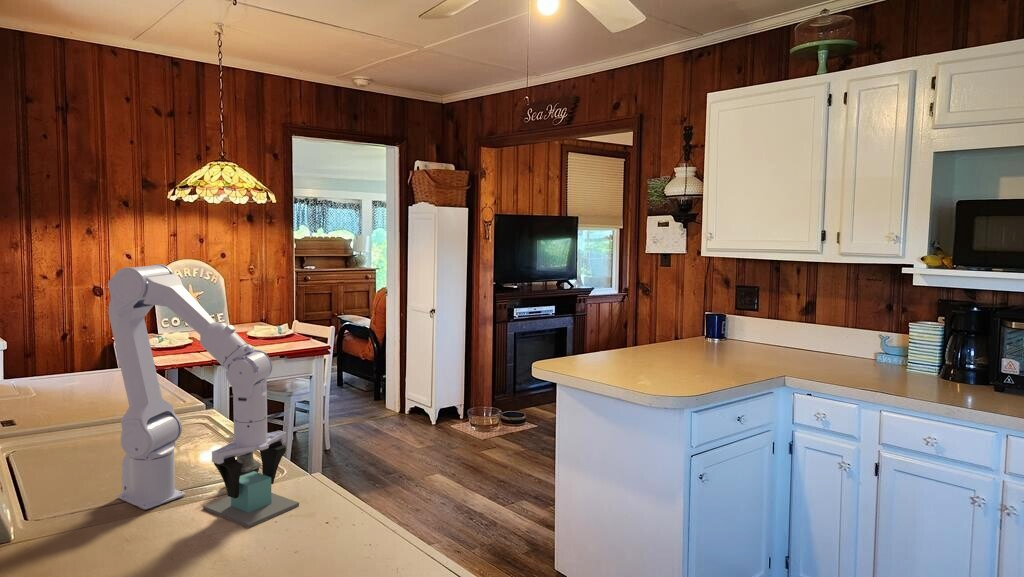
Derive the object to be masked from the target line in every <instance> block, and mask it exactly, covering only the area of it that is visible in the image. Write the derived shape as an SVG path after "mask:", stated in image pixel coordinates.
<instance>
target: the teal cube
mask: <svg viewBox="0 0 1024 577" xmlns="http://www.w3.org/2000/svg"><path fill="white" fill-rule="evenodd" d="M271 493H272V484H271V477H269V476H266V475H263V473H260V472H259V471H258V472H255V471H253V472H251V473H248V474H245V475H242V476H240V479H239V496H238V498H232V497H231V506H233V507H235V508H238V509H240V510H243V511H245V512H248V513H249V512H251V511H254V510H256V509H259V508H261V507H264V506H266V505H268V504H271V503H272V499H271Z"/></svg>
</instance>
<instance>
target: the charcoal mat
mask: <svg viewBox="0 0 1024 577" xmlns="http://www.w3.org/2000/svg"><path fill="white" fill-rule="evenodd" d="M271 499H272V503H271V504H268V505H266V506H264V507H261V508H259V509H256V510H254V511H251V512H249V513H248V512H245V511H243V510H240V509H238V508H235V507H233V506H231V497H229V496H228V495H227V496H225V497H222V498H220V499H217V500H215V501H212V502H210V503H207V504H204V505H203V506H202V509H203V510H204V511H207V512H209V513H212V514H214V515H216V516H219V517H222V518H224V519H227V520H229V521H231V522H233V523H236V524H238V525H241V526H244V527H245V528H248V529H249V528H252V527H254V526H256V525H258V524H261V523H263V522H265V521H267V520H268V521H269V520H270V519H272V518H274V517H276V516H279V515H282V514H284V513H286V512H288V511H291V510H293V509H295V508H297V507H300V502H298V501H296V500H293V499H290V498H287V497H284V496H281V495H280V494H276V493H274V492H271Z"/></svg>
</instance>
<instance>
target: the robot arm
mask: <svg viewBox="0 0 1024 577" xmlns="http://www.w3.org/2000/svg"><path fill="white" fill-rule="evenodd" d="M107 286H108V290H109V296H110V299H109V306H108V311H107V312H108V319H109V322H110V327H111V332H112V335H113V336H112V337H113V341H114V344H115V350H116V353H117V358H118V362H119V367H120V371H121V374H122V380H123V384H124V388H125V394H126V397H127V401H128V408H127V410H126V411H125V413H124V415H123V416H122V418H121V419H120V424H121V434H120V446H121V448H122V450H123V451H124V452H125V456H124V457H123V459H122V462H121V486H122V487H121V488H122V489H121V490H122V491H121V492H122V493H120V494H118V495H117V499H120V500H122V501H124V502H126V503H129V504H130V505H133V506H136V507H138V508H140V509H142V510H149V509H152V508H155V507H157V506H160V505H163V504H165V503H168V502H171V501H174V500H177V499H180V498H183V497H185V496H186V493H185V492H184V491H181V490H178V489H176V475H175V474H176V472H175V469H176V468H175V448H176V445H177V444H176V442H177V441H178V440H179V439H180V437H181V435H182V432H183V426H182V422H181V419H180V418H179V417H178V415H177V414H176V413H175V410H174V406H173V405H174V404H172V403H170V402H169V401H167V400H166V399H164V398H163V396H162V391H161V388H160V382H159V378H158V374H157V368H156V365H155V360H154V356H153V352H152V347H151V342H150V337H149V334H148V330H147V324H146V320H145V317H146V316H147V314H148V313H149V312H150V310H152V309H153V307H154V306H158V307H166V308H168V309H170V311H172V312H173V313H174V314H175V315H176V316H177V317H179V319H180V320H182V321H183V322H184V323H186V324H187V325H188V327H190V328H191V329H192V330H194V331H195V332H196V333H197V334H199V338H200V340H199V344H200V346H201V347H202V348H203V349H204V350H206V352H207V353H208V354H209V355H211V357H212V358H213V359H215V360H216V361H217V363H219V365H221V366H222V368H224V369H225V370H226V371H225V377H226V379H227V381H228V383H229V384H230V386H231V389H232V391H231V392H232V394H233V395H232V399H233V400H232V402H233V403H232V405H233V441H231V442H230V443H228V444H226V445H224V446H222V447H220V448H218V449H215V450H212V451H211V462H212V463H213V465H214V466H215V467H216V470H218V472H219V474H220V476H221V478H222V481H223V483H224V485H225V489H226V493H227V496H229V497H232V498H238V496H239V479H240V473H241V469H242V466H243V464H242V463H239V462H237V457H238V456H241V455H244V454H247V453H250V452H253V453H254V452H256V451H259V454H260V458H261V466H262V470H261V471H262V474H263V475H266V476H269V477H271V485H273V484H274V483H275V482H274V481H275V479H276V474H277V471H278V469H279V468H278V467H279V465H280V463H281V460H282V459H283V456H284V455H285V453H286V452H287V446H286V445H284V443H286V442H287V432H286V431H282V430H276V431H271V432H268V390H267V388H268V384H267V382H268V381H267V379H268V378H269V377H270V375H271V373H272V372H273V362H272V359H271V358H270V357H269V355H268V353H267V352H266V351H265V350H261V349H256V348H254V346H252V345H251V344H248V343H247V342H246V341H245V340H244V338H242V337H241V336H240V335H239V334H238V333H237V332H236V330H237V328H235V326H234V325H232V324H227V322H223V321H221V322H218V321H215V320H214V319H213V318H212V316H211V315H210V314H209V313H208V312H207V310H205V308H204V307H202V305H201V304H200V303H199V302H198V301H197V299H195V298H194V296H193V295H191V293H190V292H189V291H188V290H187V288H185V287H184V285H183V282H182V280H181V277H180V276H178V275H177V274H176V273H174V272H173V270H172V269H171V268H170V267H168V266H167V265H165V264H160V263H156V264H152V265H145V266H136V267H132V266H131V267H130V266H127V267H123V268H122V267H121V268H120V269H118V270H117V271H116V272H115V273H114V274H113V276H112V277H111V278H110V279H109V281H108V282H107Z"/></svg>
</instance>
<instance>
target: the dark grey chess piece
mask: <svg viewBox="0 0 1024 577" xmlns="http://www.w3.org/2000/svg"><path fill="white" fill-rule="evenodd" d="M236 459H237V462H239V463H242V464H243V466H242V469H241V473H240V476H242V475H245V474H248V473H251V472H253V471H255V472H258V473H259V471H260V468H261V466H262V463H260V462H259V461H255V459H254V451H253V452H250V453H247V454H244V455H241V456H238V457H236Z"/></svg>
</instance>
